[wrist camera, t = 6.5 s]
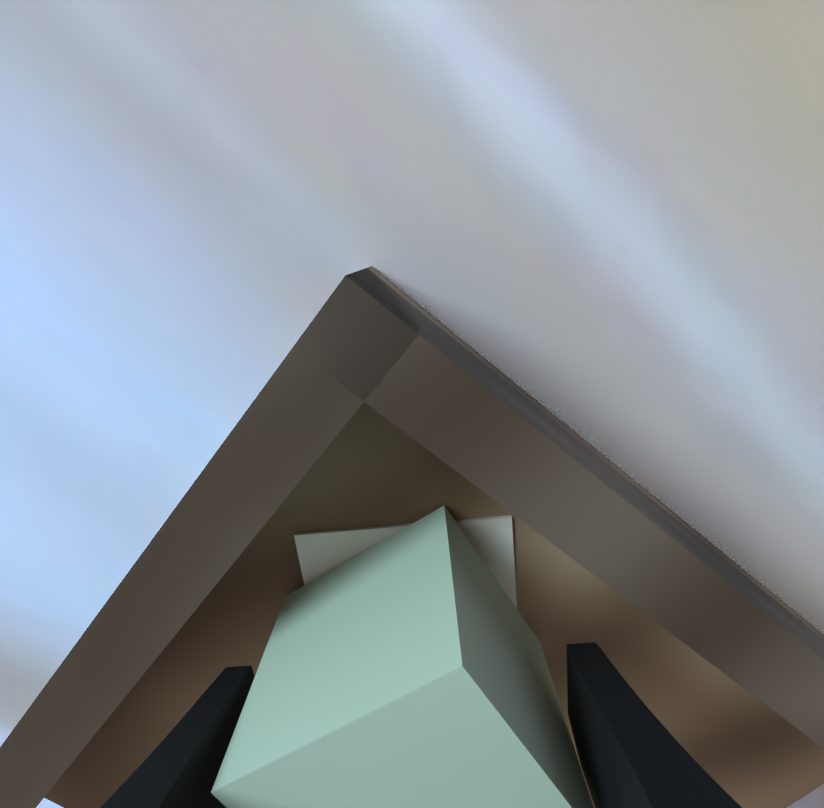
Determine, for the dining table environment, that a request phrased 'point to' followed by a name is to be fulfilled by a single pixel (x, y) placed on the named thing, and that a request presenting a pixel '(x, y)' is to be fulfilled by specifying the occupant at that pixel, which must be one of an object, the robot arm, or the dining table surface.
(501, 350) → the dining table surface
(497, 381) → the arena
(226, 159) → the dining table surface
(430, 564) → the sage cube
